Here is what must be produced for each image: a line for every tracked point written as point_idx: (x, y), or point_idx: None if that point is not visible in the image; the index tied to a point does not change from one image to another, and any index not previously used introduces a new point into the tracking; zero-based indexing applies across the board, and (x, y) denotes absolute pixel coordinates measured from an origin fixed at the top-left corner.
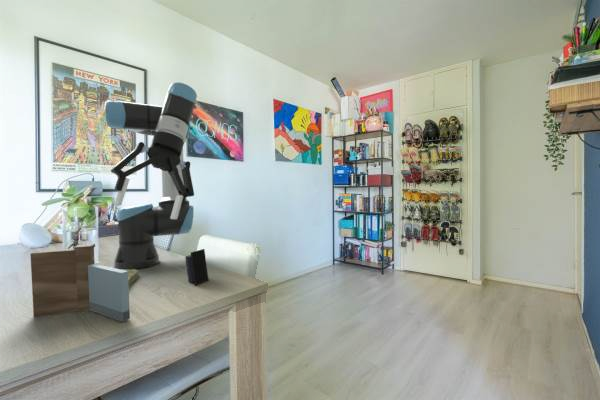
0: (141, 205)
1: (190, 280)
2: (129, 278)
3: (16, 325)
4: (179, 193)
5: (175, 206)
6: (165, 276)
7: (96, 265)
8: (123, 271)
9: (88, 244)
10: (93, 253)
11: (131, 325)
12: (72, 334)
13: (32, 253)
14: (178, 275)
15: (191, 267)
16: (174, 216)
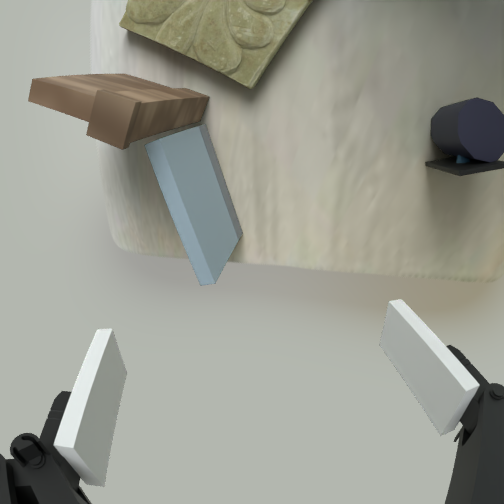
0: None
1: (432, 133)
2: (301, 10)
3: None
4: (478, 413)
5: (417, 365)
6: (407, 17)
7: (161, 163)
8: (206, 278)
9: (118, 109)
10: (147, 109)
11: (240, 252)
12: (165, 213)
13: (31, 101)
14: (437, 41)
15: (448, 143)
16: (385, 345)
